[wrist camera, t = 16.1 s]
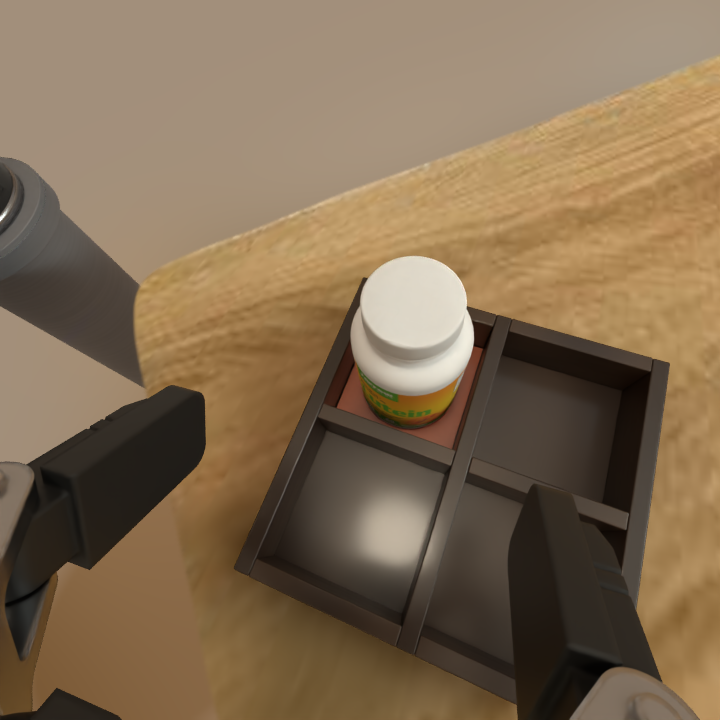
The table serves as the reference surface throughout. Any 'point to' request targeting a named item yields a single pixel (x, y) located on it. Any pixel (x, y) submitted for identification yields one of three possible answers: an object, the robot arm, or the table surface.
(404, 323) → the supplement bottle
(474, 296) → the table surface
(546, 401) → the grid
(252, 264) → the table surface
